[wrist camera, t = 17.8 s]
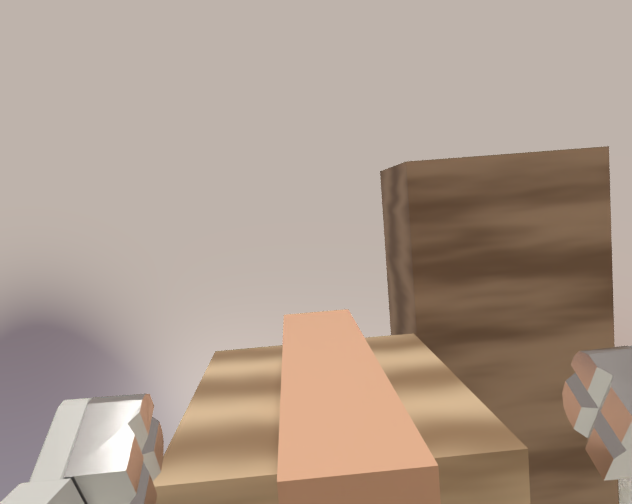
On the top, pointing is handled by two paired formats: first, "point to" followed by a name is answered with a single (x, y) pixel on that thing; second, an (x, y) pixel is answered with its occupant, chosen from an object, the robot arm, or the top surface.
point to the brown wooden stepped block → (450, 337)
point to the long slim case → (345, 422)
